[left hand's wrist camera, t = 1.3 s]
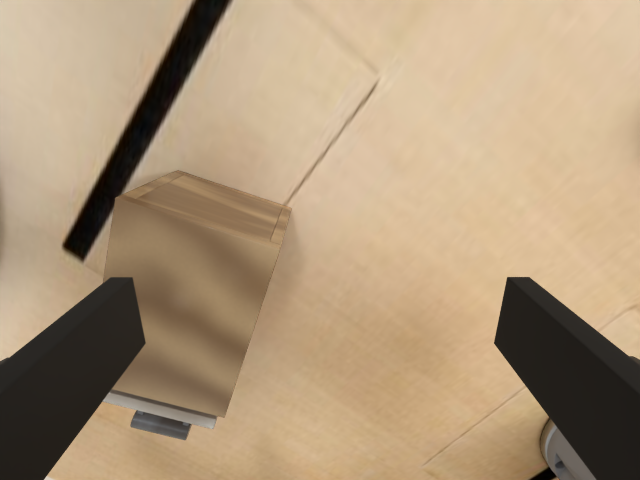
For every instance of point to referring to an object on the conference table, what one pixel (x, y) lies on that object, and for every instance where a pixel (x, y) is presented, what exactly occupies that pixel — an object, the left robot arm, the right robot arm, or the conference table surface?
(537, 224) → the conference table surface
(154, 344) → the cabinet
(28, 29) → the conference table surface
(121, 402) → the drawer
